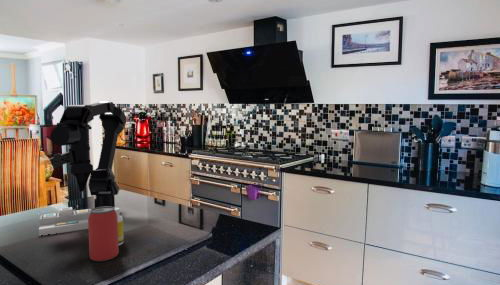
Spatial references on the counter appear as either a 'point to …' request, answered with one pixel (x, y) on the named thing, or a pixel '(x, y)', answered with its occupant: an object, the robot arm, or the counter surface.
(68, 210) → the key mid
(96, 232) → the beer can
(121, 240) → the supplement bottle
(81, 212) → the key
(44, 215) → the key
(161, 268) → the counter surface
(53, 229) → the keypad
